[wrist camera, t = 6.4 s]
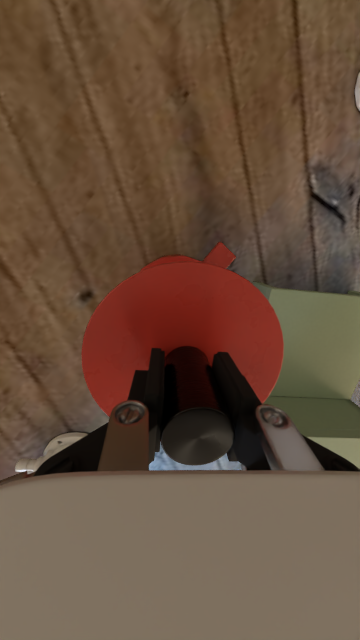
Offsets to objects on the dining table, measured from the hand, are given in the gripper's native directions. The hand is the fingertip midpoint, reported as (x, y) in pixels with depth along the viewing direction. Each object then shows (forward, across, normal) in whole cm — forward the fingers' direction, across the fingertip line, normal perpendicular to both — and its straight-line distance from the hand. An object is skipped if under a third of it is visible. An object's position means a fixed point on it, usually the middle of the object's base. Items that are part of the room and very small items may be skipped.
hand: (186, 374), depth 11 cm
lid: (+1, 0, 0) cm, 1 cm away
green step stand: (+20, -20, +7) cm, 29 cm away
